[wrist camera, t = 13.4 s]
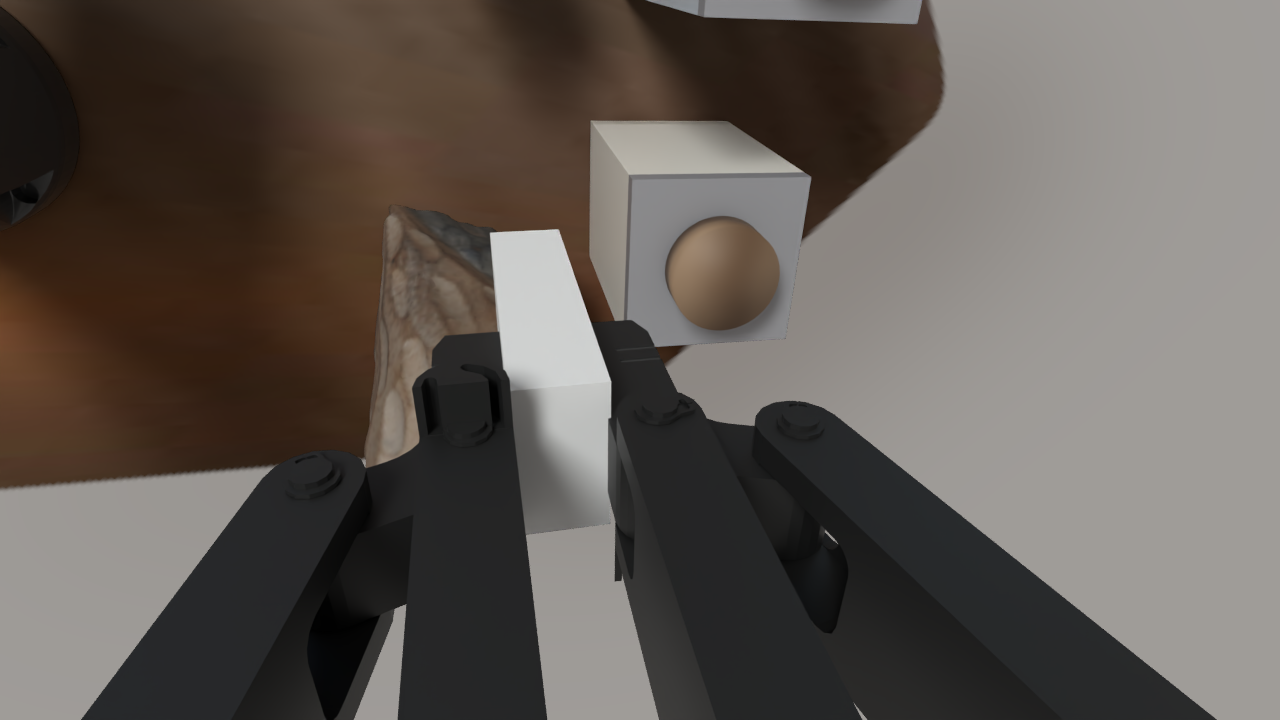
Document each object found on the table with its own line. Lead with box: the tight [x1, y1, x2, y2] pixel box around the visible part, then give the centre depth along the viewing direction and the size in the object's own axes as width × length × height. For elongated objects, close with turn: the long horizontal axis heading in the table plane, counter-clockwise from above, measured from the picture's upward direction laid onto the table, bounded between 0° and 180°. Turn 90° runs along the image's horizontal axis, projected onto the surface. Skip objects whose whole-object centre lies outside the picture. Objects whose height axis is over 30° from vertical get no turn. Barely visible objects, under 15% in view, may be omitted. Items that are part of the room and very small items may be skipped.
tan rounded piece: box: [665, 216, 780, 331], centre depth 46 cm, size 7×7×16 cm
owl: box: [364, 205, 498, 468], centre depth 46 cm, size 13×13×20 cm
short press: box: [590, 121, 811, 347], centre depth 47 cm, size 10×10×15 cm
